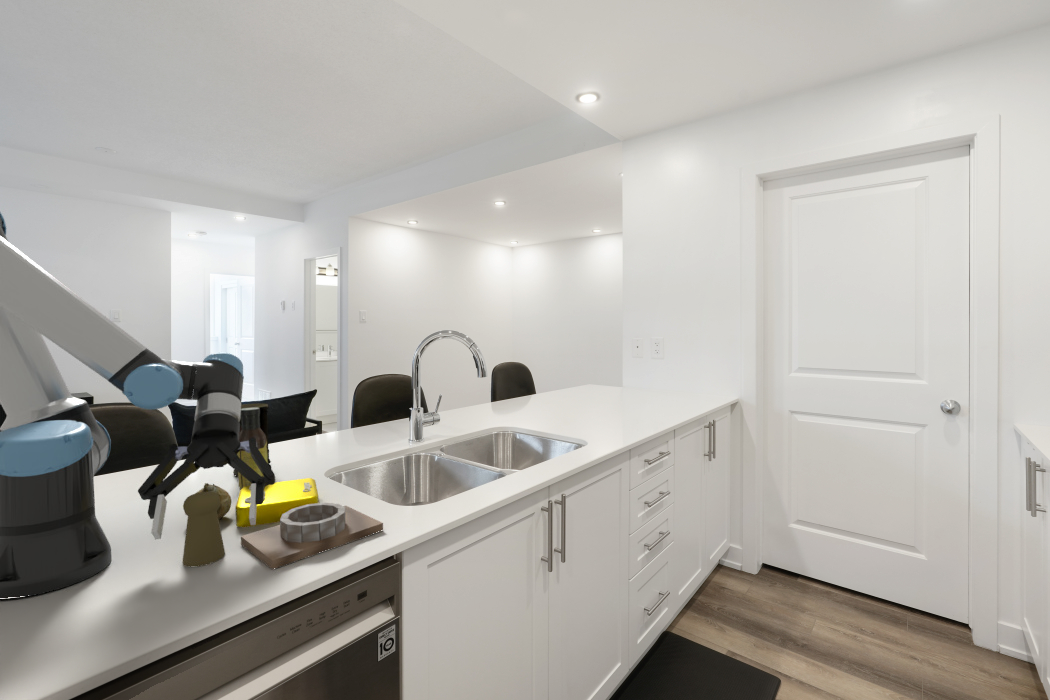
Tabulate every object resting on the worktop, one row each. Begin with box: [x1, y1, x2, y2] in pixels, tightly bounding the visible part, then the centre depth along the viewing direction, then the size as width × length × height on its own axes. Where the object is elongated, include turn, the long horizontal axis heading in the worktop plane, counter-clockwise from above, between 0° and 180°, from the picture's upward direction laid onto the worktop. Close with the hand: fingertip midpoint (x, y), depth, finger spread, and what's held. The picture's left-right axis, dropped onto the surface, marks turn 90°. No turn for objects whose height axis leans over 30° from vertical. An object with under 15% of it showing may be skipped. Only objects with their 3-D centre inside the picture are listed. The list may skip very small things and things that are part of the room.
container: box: [232, 403, 272, 477], centre depth 132 cm, size 9×9×18 cm
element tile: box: [235, 477, 319, 528], centre depth 105 cm, size 15×15×5 cm
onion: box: [194, 482, 232, 521], centre depth 100 cm, size 8×8×8 cm
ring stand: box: [240, 502, 384, 570], centre depth 91 cm, size 20×14×4 cm
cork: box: [182, 492, 226, 567], centre depth 83 cm, size 6×6×11 cm
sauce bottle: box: [237, 408, 268, 493], centre depth 116 cm, size 6×6×20 cm
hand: (205, 528), depth 82 cm, fingers open, 13 cm apart
